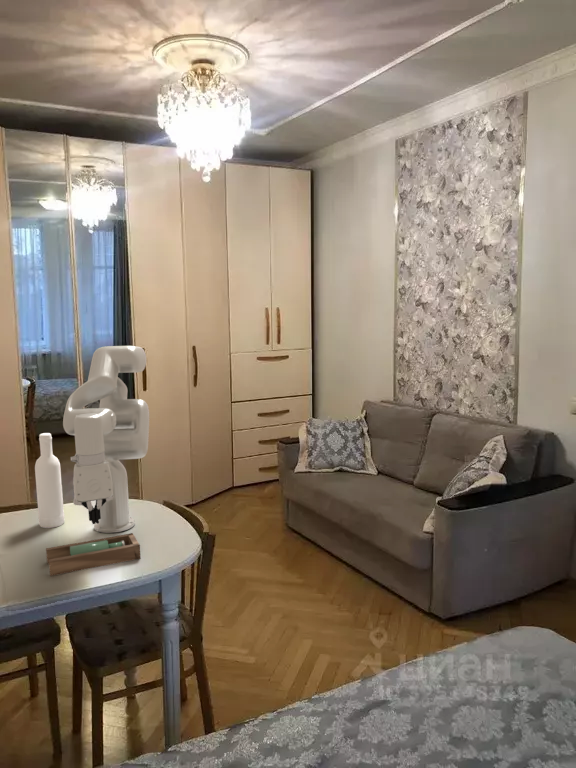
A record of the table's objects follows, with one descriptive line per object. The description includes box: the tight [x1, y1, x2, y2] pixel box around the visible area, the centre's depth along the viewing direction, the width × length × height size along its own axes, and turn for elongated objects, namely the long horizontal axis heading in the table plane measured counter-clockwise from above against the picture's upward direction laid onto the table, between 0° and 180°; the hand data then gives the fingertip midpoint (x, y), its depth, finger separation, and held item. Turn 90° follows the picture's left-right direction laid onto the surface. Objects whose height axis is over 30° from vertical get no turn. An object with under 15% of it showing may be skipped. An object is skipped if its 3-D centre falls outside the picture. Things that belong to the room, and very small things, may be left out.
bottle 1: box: [34, 432, 65, 529], centre depth 205 cm, size 8×8×30 cm
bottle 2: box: [70, 540, 125, 556], centre depth 179 cm, size 5×5×15 cm
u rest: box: [45, 532, 141, 577], centre depth 178 cm, size 10×24×4 cm, turn 115°
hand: (95, 522), depth 177 cm, fingers closed
